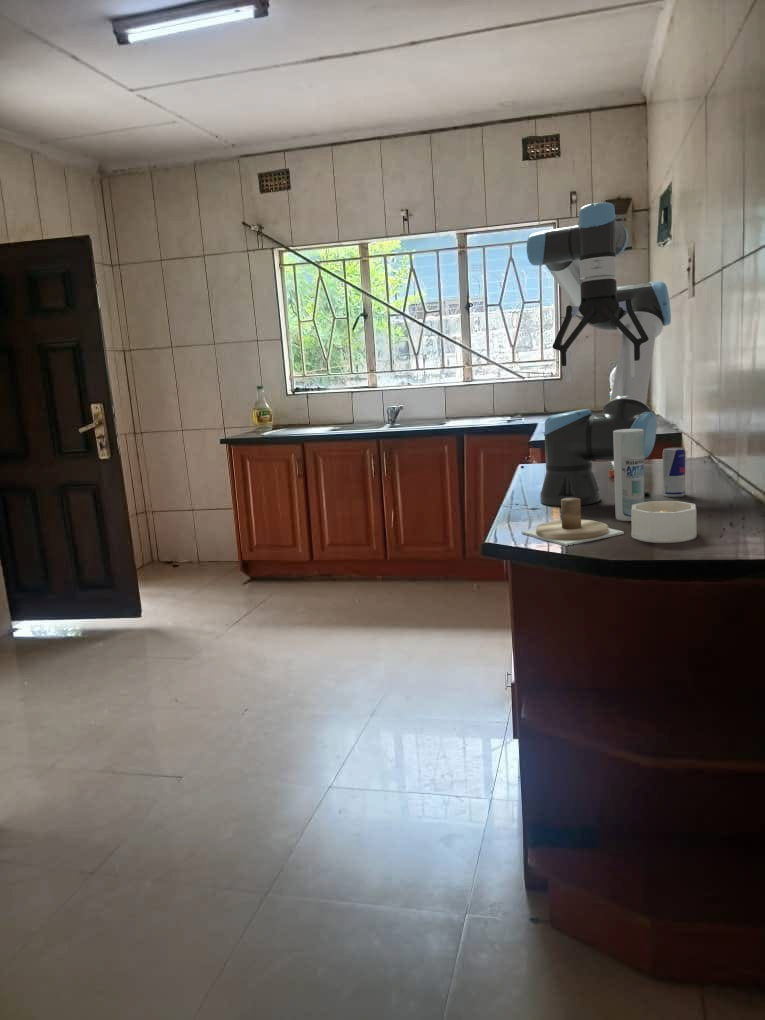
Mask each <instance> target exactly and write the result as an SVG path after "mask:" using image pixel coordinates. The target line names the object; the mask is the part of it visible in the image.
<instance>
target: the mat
mask: <svg viewBox="0 0 765 1020" xmlns="http://www.w3.org/2000/svg"><path fill="white" fill-rule="evenodd" d="M624 533H625V531H622V530H619V529H613V528H610V527H608V533H607V534H605V535H603V536H600V537H596V538H590V539H582V540H556V539H548V538H543V537H540V536H538V535H537V534H536V528H533V529H528V530H523V531H521V534H522V535H524V536H525V535H526V536H530V537H532V538H537V539H539V540H542V541H546V542H550V543H554V544H557V545H561V546H564V547H568V545H569V546H573V544H574V545H578V544H582V543H587V542H592V541H596V540H600V539H606V538H610V537H615V536H620V535H624Z"/></svg>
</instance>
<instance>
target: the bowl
mask: <svg viewBox="0 0 765 1020" xmlns="http://www.w3.org/2000/svg"><path fill="white" fill-rule="evenodd" d="M696 507H697V506H696V503H690V502H686V501H679V500H649V501H644V503H638V504H633V505H632V509H631V521H630V522H631V525H630V526H631V533H630V534H631V538H633V539H635V540H636V541H640V542H645V543H655V544H672V543H674V544H675V543H684V542H688V541H692V540H695V539H696V538H697V536H698V535H697V508H696Z"/></svg>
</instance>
